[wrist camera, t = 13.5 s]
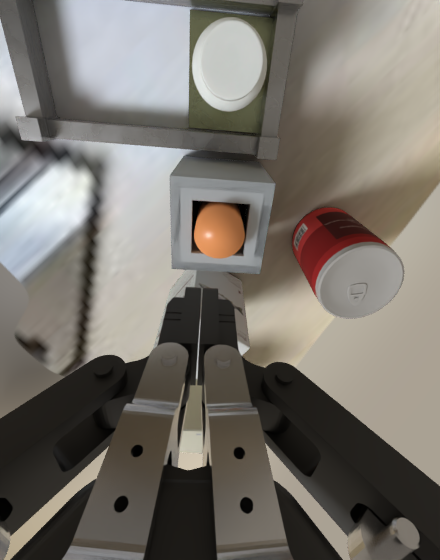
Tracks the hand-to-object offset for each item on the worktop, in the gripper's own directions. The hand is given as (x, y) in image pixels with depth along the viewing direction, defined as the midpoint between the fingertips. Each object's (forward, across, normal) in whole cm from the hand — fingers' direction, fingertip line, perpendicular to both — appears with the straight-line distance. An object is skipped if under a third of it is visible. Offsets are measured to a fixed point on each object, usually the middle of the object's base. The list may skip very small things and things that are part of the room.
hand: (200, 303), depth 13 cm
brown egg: (+16, -1, +1) cm, 16 cm away
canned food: (+21, -14, +5) cm, 26 cm away
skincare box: (+21, +1, +30) cm, 37 cm away
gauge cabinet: (+21, -1, +1) cm, 21 cm away
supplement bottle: (+21, -1, -10) cm, 24 cm away
